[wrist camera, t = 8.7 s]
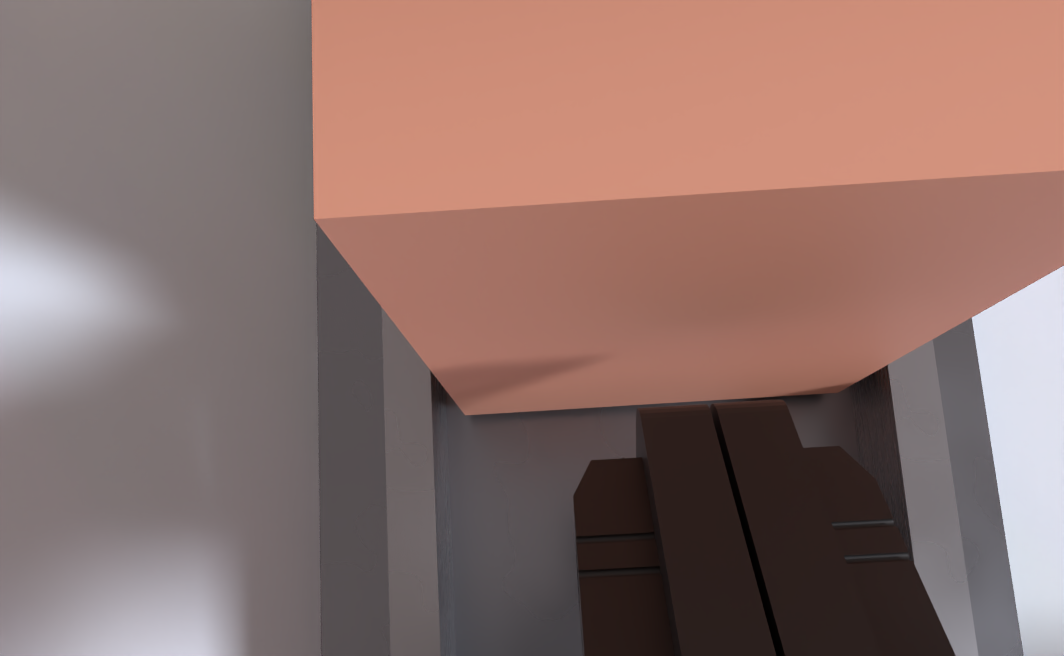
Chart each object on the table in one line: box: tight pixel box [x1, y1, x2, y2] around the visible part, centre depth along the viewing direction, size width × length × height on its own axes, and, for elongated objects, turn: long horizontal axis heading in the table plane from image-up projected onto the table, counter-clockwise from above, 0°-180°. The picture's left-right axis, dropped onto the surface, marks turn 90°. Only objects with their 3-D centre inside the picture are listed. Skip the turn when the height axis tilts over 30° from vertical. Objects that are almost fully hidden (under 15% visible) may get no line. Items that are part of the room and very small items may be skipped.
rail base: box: [317, 224, 1023, 656], centre depth 16 cm, size 17×11×5 cm, turn 3°
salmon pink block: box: [311, 0, 1064, 415], centre depth 12 cm, size 6×6×10 cm
